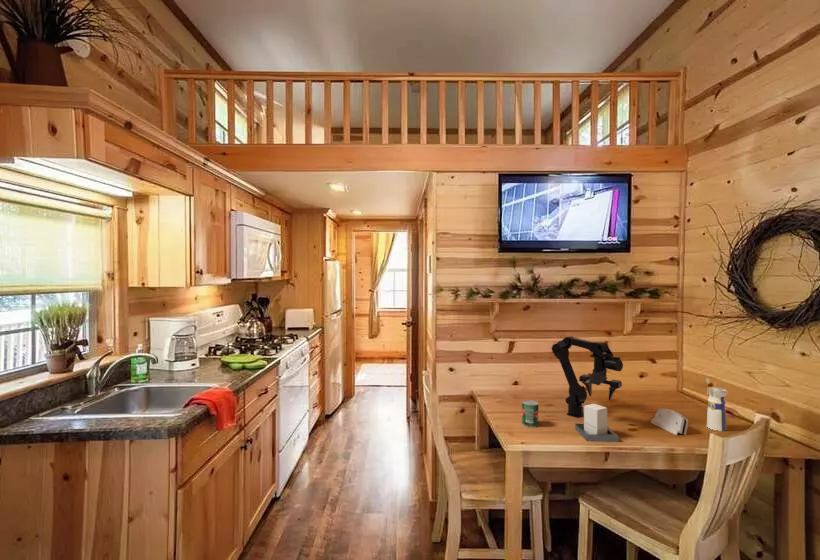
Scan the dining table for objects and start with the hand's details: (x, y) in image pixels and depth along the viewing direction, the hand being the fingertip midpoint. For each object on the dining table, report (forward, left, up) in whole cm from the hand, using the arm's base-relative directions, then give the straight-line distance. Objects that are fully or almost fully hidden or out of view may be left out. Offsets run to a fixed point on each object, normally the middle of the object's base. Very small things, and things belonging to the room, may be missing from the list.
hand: (599, 398), depth 194 cm
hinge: (+26, +20, -13) cm, 35 cm away
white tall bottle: (+42, +36, -13) cm, 57 cm away
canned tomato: (-24, -26, -13) cm, 38 cm away
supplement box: (+4, -16, -13) cm, 20 cm away
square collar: (+4, -16, -13) cm, 21 cm away
